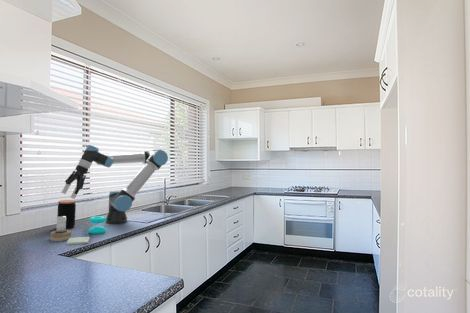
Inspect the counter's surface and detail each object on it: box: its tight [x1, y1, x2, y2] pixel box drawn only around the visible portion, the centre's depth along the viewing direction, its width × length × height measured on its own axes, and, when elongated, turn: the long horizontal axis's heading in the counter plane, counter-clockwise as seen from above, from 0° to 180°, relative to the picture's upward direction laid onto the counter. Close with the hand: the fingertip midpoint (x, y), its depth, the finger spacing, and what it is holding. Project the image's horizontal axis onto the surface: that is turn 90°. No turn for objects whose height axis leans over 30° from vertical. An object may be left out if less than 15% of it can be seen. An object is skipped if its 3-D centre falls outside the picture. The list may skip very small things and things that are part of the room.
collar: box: [49, 229, 72, 242], centre depth 180 cm, size 10×10×4 cm
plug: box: [55, 216, 67, 233], centre depth 180 cm, size 5×5×13 cm
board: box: [65, 236, 91, 246], centre depth 176 cm, size 11×11×1 cm
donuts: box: [88, 215, 107, 235], centre depth 197 cm, size 10×10×10 cm
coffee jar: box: [56, 199, 77, 230], centre depth 208 cm, size 11×11×18 cm
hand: (67, 195), depth 201 cm, fingers open, 13 cm apart
